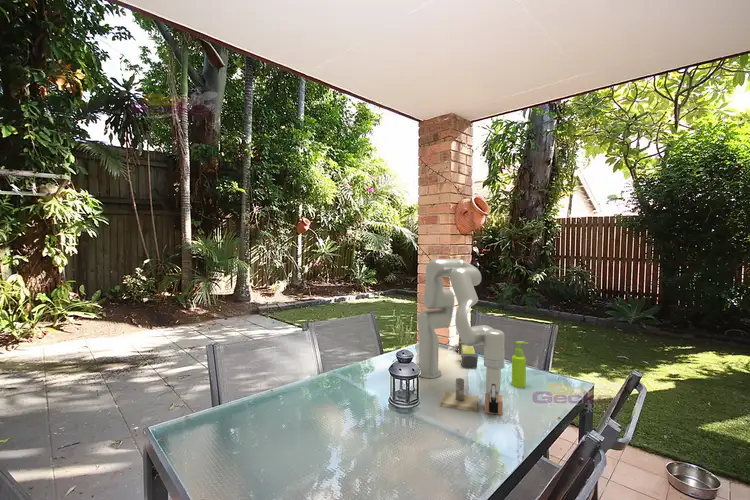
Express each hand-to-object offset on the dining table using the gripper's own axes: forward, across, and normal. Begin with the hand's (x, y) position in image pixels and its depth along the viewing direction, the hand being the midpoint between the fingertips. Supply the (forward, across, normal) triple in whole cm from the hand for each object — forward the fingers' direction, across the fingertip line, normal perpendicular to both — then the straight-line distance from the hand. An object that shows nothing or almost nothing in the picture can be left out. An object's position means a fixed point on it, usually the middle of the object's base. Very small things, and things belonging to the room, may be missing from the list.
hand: (493, 407), depth 137 cm
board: (+1, -2, -13) cm, 13 cm away
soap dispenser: (+1, -30, +11) cm, 32 cm away
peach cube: (+1, 0, 0) cm, 1 cm away
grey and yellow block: (+1, -60, -16) cm, 62 cm away
